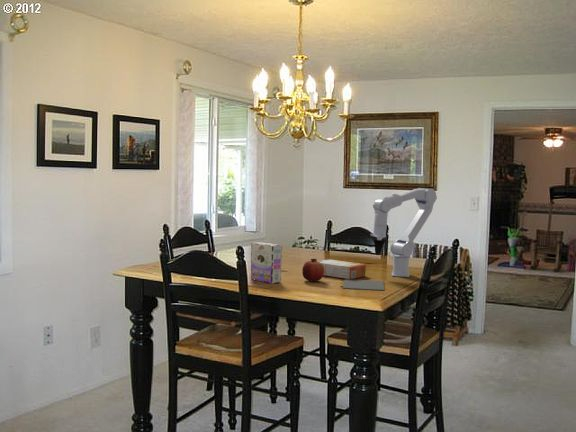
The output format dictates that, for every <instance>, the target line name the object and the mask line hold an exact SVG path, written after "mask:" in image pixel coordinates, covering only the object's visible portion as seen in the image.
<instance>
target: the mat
mask: <svg viewBox="0 0 576 432" xmlns="http://www.w3.org/2000/svg"><path fill="white" fill-rule="evenodd" d="M384 286H385V284H384V281H383V280H370V279H368V280H365V279H345V278H344V280H343V284H342V289H343V290H344V289H345V290H359V291H360V290H361V291H362V290H365V291H380V292H382V291H383V292H384V291H385V287H384Z"/></svg>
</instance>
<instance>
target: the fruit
mask: <svg viewBox="0 0 576 432" xmlns="http://www.w3.org/2000/svg"><path fill="white" fill-rule="evenodd" d="M318 261H319V260H318V259H317V258H311V259H310V260H308V261H306V262H305V263H304V264H303V266H302V269H301V270H302V276H303V278H304V279H305V280H307V281H308V282H319V281H320V280H322V279H323V277H324V276H325V275H324V266H323V265H322V264H321V263H320V262H318Z"/></svg>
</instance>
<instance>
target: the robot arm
mask: <svg viewBox="0 0 576 432" xmlns="http://www.w3.org/2000/svg"><path fill="white" fill-rule="evenodd" d="M437 197H438V196H437V192H436V191H435V189H434V188H422V187H417V188H414V189H412V190H409V191H407V192H405V193H403V194H398V193H391V195H390V196H384V197H383V198H378V199H376V200H375V201H374V204H373V205H372V206H373V207H372V208H373V210H374V222H373V233H370V237H375V238H373V239H372V241H373V244H374V254H375V255H376V256H381V254H382V249H383V246H384V244H385V242H386V239H383V238H387V226H388V225H387V224H388V214H389V212H390V211H391V210H392V209H395V208H397V207H400V206H402V204H403V202H406V201H411V200H415V202H416V204H417V207H418V211H417V213H416V214H415V216H414V217H413V219H412V221H410V223H409V225H408V226H407V228H406V230H405V232H404V233H403V235H401V236H399V237H397V239H396V240H395V241H394V242H392V243H391V245H390V251H391V254H392V256H393V260H392V261H393V262H392V271H391V277H402V278H410V273H409V271H410V270H409V269H410V268H409V266H410V258H411V256H412V255H413V252H414V248H415V247H416V246H415V243H414V240H415V239H416V237H417V236H418V234H419V232H420V231H421V229H422V228H423V227H424V225H425V223H426V222H427V220H428V219H429V217H430V215H431V214H432V212H433V209H434V204H435V202H436V201H437V199H438V198H437Z"/></svg>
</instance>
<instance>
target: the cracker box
mask: <svg viewBox="0 0 576 432" xmlns="http://www.w3.org/2000/svg"><path fill="white" fill-rule="evenodd" d="M317 261H318V262H320V263H321V264H322V265H323V266H324V275H323V276H328V277H334V278H340V279H344V280H345V279H351V280H354V279H357V278H361V277H362V278H363V277H365V276H366V268H367V264H365V263H358V262H350V261H343V260H336V259H322V260H317Z"/></svg>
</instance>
